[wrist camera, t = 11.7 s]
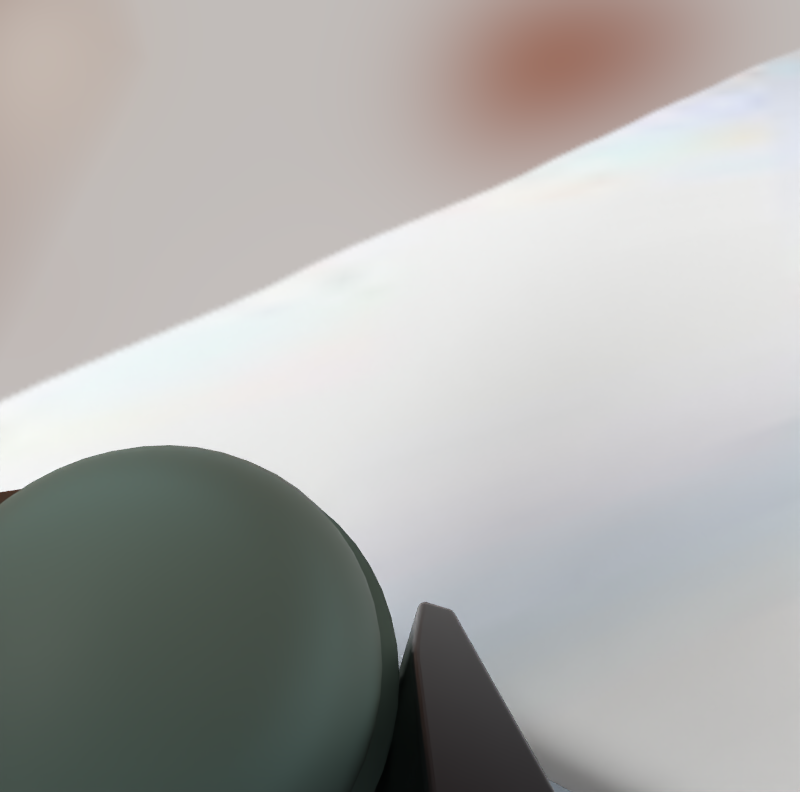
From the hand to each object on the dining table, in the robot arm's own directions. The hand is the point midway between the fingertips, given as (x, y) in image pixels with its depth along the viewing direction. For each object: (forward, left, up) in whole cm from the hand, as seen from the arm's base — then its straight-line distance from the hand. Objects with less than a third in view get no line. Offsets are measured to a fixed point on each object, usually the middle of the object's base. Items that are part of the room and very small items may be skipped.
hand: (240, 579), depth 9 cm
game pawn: (-1, 0, -7) cm, 7 cm away
